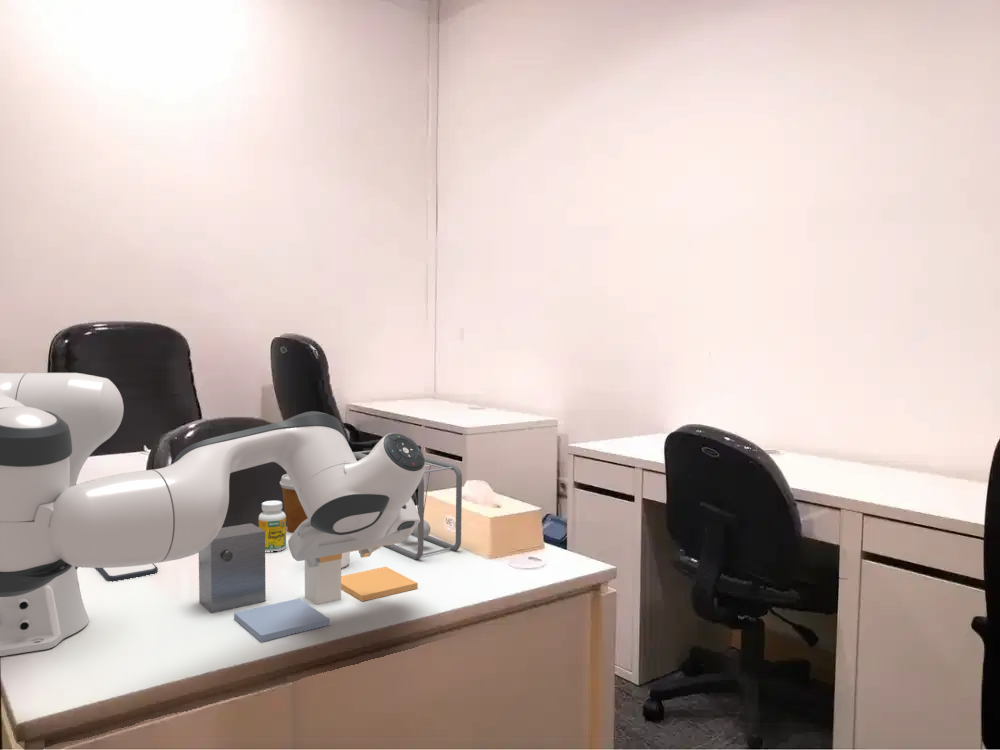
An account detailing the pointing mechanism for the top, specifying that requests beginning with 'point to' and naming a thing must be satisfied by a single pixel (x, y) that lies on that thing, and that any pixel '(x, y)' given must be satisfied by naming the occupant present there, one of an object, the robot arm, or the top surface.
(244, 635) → the top surface
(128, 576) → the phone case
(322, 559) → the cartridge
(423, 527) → the newton's cradle
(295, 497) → the disposable coffee cup
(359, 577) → the orange pad
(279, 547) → the supplement bottle
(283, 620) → the blue pad
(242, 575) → the control box
